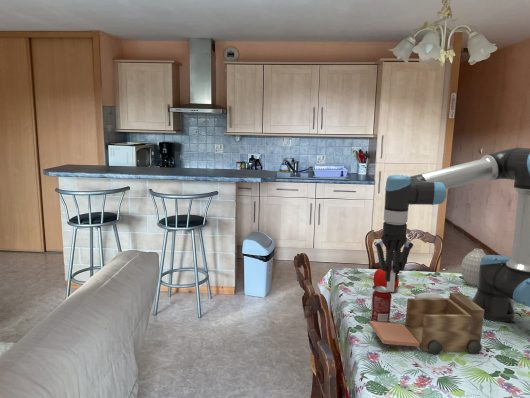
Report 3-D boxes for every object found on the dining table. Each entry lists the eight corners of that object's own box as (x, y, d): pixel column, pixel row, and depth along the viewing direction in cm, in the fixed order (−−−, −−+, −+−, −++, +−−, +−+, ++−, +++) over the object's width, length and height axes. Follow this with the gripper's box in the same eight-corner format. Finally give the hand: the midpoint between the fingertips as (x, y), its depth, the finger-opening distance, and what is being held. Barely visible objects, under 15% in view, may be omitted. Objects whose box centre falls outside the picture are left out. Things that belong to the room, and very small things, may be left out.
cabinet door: (403, 324, 145) (370, 321, 144) (419, 343, 132) (383, 339, 131) (402, 328, 145) (369, 325, 144) (418, 347, 133) (382, 344, 132)
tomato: (384, 295, 177) (386, 275, 176) (367, 285, 188) (368, 266, 187) (404, 292, 182) (406, 272, 180) (386, 282, 192) (387, 264, 191)
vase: (455, 278, 201) (459, 244, 198) (483, 280, 200) (487, 246, 197) (464, 288, 189) (468, 252, 186) (494, 290, 187) (499, 254, 184)
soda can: (390, 324, 150) (392, 293, 148) (370, 322, 152) (373, 291, 150) (388, 316, 157) (391, 286, 155) (370, 314, 158) (372, 284, 156)
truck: (454, 328, 149) (458, 291, 147) (482, 353, 132) (487, 312, 130) (402, 328, 148) (406, 291, 146) (424, 354, 131) (428, 312, 128)
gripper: (409, 219, 141) (403, 285, 145) (372, 219, 140) (367, 286, 144) (419, 224, 134) (413, 294, 138) (380, 224, 133) (375, 294, 137)
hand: (390, 290), depth 141 cm, fingers closed
